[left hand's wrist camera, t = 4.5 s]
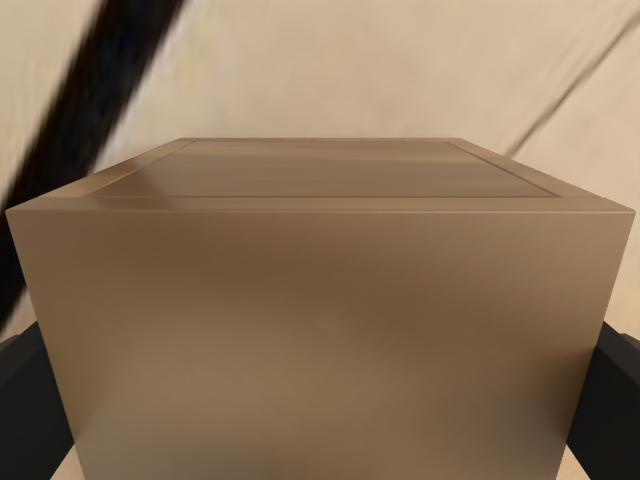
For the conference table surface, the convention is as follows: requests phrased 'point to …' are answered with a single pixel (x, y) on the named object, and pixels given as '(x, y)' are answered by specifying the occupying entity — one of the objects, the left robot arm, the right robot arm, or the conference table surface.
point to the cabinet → (320, 309)
